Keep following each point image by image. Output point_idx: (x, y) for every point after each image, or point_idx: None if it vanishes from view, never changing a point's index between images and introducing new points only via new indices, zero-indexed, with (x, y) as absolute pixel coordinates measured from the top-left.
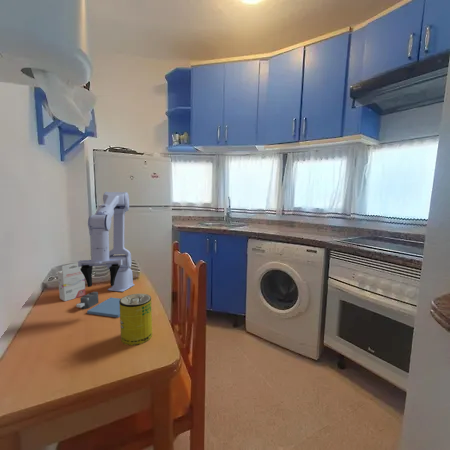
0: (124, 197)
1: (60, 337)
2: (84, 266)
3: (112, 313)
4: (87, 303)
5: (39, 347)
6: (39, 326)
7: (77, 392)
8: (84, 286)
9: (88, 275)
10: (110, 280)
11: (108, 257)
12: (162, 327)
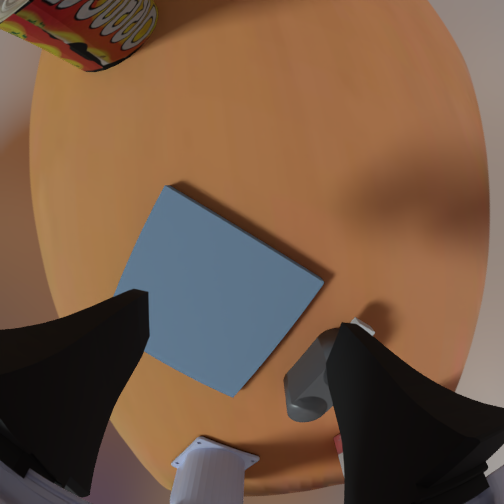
0: None
1: (378, 83)
2: (464, 489)
3: (193, 211)
4: (328, 344)
5: (412, 53)
6: (459, 210)
7: None
8: (342, 461)
9: (394, 395)
10: (119, 308)
11: None
12: (42, 86)
